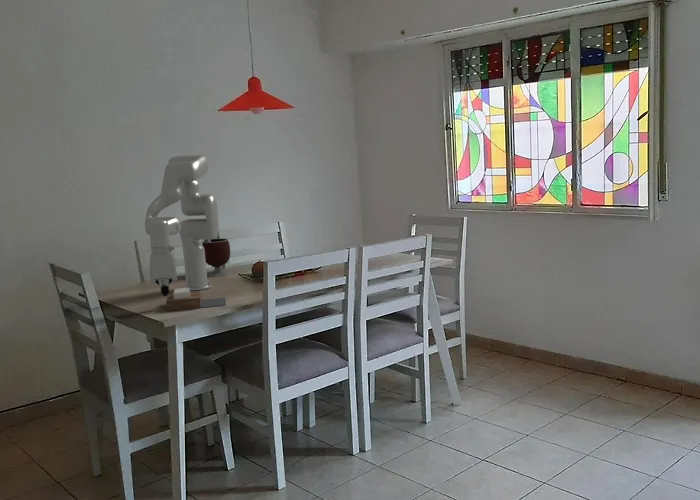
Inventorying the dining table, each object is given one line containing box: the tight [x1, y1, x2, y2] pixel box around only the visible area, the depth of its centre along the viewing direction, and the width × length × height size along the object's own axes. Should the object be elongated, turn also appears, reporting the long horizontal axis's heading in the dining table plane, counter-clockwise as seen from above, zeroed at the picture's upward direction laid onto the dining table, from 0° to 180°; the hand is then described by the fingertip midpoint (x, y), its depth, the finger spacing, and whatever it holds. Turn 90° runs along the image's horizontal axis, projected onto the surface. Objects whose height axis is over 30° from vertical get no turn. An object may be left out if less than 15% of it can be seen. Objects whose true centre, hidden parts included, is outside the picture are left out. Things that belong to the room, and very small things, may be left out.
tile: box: [173, 287, 191, 299], centre depth 277 cm, size 9×6×2 cm, turn 11°
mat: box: [200, 297, 227, 309], centre depth 280 cm, size 14×10×1 cm
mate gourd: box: [201, 237, 231, 277], centre depth 343 cm, size 16×14×20 cm
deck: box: [165, 290, 202, 312], centre depth 277 cm, size 14×13×4 cm
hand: (165, 295), depth 276 cm, fingers closed
